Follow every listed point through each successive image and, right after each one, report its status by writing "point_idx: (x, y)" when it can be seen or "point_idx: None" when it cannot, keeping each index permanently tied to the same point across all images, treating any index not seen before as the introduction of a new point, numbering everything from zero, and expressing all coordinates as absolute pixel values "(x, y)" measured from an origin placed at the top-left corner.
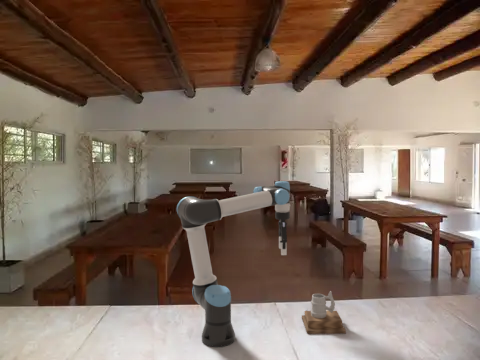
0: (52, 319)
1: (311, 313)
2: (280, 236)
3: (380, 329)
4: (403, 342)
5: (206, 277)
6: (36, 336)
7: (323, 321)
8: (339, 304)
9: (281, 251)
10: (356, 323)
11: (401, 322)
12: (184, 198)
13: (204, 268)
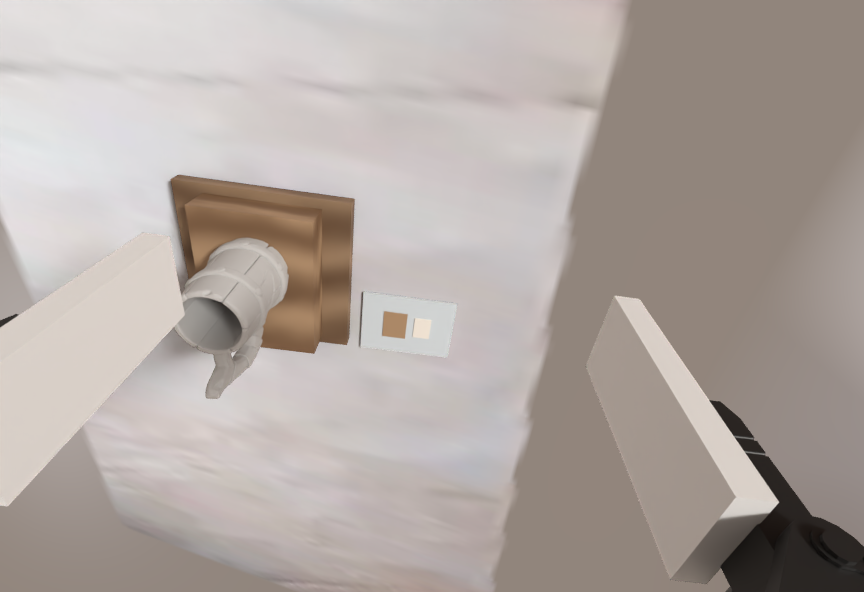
0: None
1: (233, 241)
2: (749, 532)
3: (250, 422)
4: (163, 438)
5: None
6: None
7: (198, 270)
8: (487, 387)
9: (97, 267)
10: (297, 378)
11: (306, 484)
12: None
13: None
